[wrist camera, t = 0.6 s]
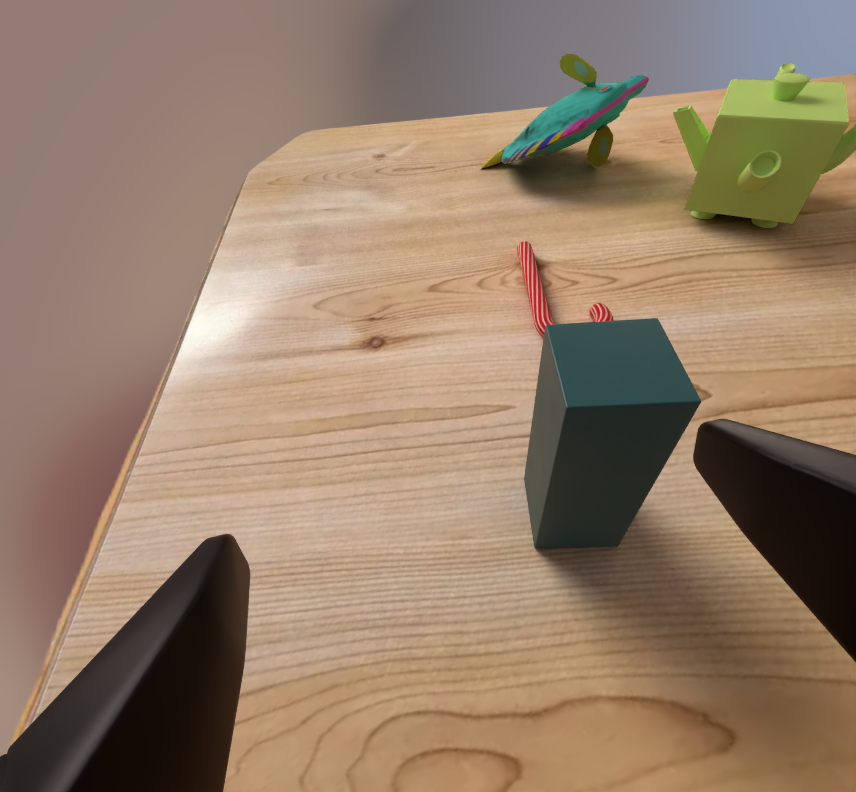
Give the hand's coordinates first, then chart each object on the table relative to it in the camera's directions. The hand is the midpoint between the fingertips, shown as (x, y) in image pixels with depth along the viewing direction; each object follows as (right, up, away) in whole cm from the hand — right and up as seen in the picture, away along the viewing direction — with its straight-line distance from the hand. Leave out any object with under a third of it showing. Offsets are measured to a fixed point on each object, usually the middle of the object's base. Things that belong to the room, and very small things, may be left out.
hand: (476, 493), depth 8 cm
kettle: (+32, +21, +37) cm, 53 cm away
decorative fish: (+15, +31, +47) cm, 58 cm away
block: (+7, -5, +17) cm, 19 cm away
